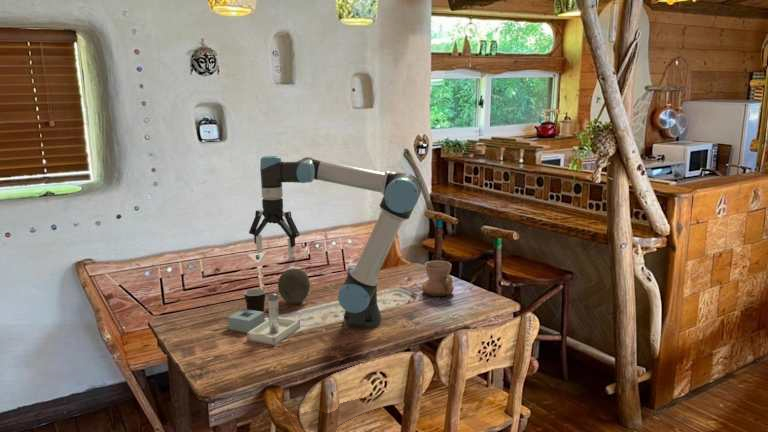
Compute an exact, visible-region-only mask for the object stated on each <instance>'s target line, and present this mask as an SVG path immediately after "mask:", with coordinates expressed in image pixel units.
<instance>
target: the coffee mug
mask: <svg viewBox="0 0 768 432" xmlns="http://www.w3.org/2000/svg"><path fill="white" fill-rule="evenodd" d="M266 293H267V292H266V290H264V289H263V288H262V289H261V288H252V289H251V288H250V289H248V290H245V291H244V292H243V294H244V302H245V306H246V309H249V310H255V311H261V312H264V313H265V306H266V305H265V303H266Z"/></svg>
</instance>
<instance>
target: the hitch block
mask: <svg viewBox="0 0 768 432" xmlns="http://www.w3.org/2000/svg"><path fill="white" fill-rule="evenodd" d="M265 319H266V318H265V311H264V312H261V311H255V310H249V309H247V308H242V309H239V310H238V311H237V312H235V313H233V314H231V315H228V317H227V322H228V323H227V325H228V328H227V329H228V330H231V331H236V332H240V333H241V332H242V333H247V332H249V331H250V330H252V329H254V328H255V327H257V326H259V325H260V324H262V323H263V322H265V321H266V320H265Z"/></svg>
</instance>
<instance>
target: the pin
mask: <svg viewBox="0 0 768 432" xmlns="http://www.w3.org/2000/svg"><path fill="white" fill-rule="evenodd" d="M267 298H268V299H267V300H268V301H267V302H268V319H269V329H270V333H271V334H276V333H279V317H280V316H279V296H278V293H277V292H271V293H270V292H269V293H268V294H267Z"/></svg>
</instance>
